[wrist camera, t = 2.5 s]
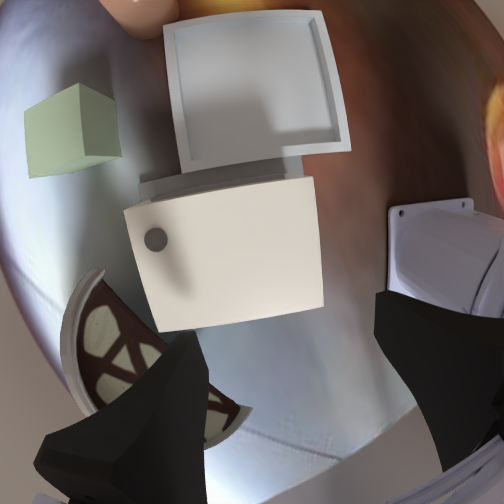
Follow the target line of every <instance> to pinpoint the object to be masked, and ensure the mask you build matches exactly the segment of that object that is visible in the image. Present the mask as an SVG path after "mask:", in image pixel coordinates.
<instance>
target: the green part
mask: <svg viewBox="0 0 504 504" xmlns="http://www.w3.org/2000/svg"><path fill="white" fill-rule="evenodd" d="M24 125H25V142H26V154H27V163H28V171H29V178H30V179H31V178H38V177H45V176H53V175H61V174H70V173H75V172H78V171H80V170H83V169H86V168H89V167H92V166H95V165H98V164H101V163H104V162H107V161H110V160H114V159H117V158H120V157H122V155H121V148H120V141H119V134H118V126H117V117H116V107H115V100H113V99H111V98H109V97H107V96H105V95H103V94H101V93H99V92H97V91H95V90H93V89H91V88H89V87H87V86H85V85H83V84H81V83H77V84H75V85H73V86H71V87H68V88H66V89H64V90H62V91H60V92H58V93H56V94H54V95H53V96H51V97H49V98H47V99H45V100H43V101H42V102H40V103H38V104H36V105H34V106H33V107H31V108H29V109H28V110H26V111H24Z"/></svg>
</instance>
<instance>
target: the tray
mask: <svg viewBox="0 0 504 504" xmlns="http://www.w3.org/2000/svg"><path fill="white" fill-rule="evenodd" d="M163 33H164V45H165V55H166V65H167V74H168V83H169V91H170V99H171V106H172V113H173V121H174V127H175V134H176V141H177V147H178V153H179V159H180V165H181V171H182V174H183V173H188V172H193V171H198V170H203V169H209V168H214V167H220V166H225V165H231V164H238V163H244V162H251V161H257V160H265V159H272V158H280V157H288V156H297V155H308V154H319V153H331V152H344V151H351V144H350V137H349V130H348V124H347V117H346V112H345V106H344V101H343V95H342V90H341V85H340V81H339V76H338V71H337V67H336V63H335V59H334V55H333V51H332V47H331V43H330V39H329V35H328V32H327V28H326V25H325V22H324V18H323V15H322V12H321V11H314V10H259V11H245V12H234V13H226V14H218V15H211V16H205V17H199V18H194V19H189V20H184V21H179V22H175V23H171V24H167V25H163Z"/></svg>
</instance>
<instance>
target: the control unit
mask: <svg viewBox="0 0 504 504" xmlns="http://www.w3.org/2000/svg"><path fill="white" fill-rule="evenodd" d="M138 188H139V193H140V198H141V203H139V204H137V205H134V206H132V207H130V208H128V209H125V210H123V211H124V216H125V220H126V225H127V229H128V233H129V237H130V241H131V245H132V249H133V252H134V256H135V260H136V263H137V267H138V270H139V274H140V277H141V280H142V284H143V287H144V290H145V293H146V296H147V300H148V303H149V306H150V309H151V312H152V315H153V317H154V320H155V323H156V326H157V329H158V331H159V332H169V331H178V330H186V329H194V328H202V327H209V326H216V325H223V324H230V323H236V322H243V321H249V320H255V319H261V318H266V317H272V316H278V315H283V314H288V313H293V312H299V311H304V310H309V309H313V308H318V307H323V306H324V305H323V284H322V267H321V253H320V240H319V229H318V218H317V208H316V199H315V190H314V182H313V177H311V176H304V173H303V166H302V159H301V155H297V156H288V157H280V158H272V159H265V160H257V161H251V162H244V163H238V164H231V165H225V166H220V167H214V168H209V169H203V170H198V171H193V172H188V173H183V174H178V175H174V176H169V177H165V178H160V179H156V180H152V181H148V182H144V183H140V184H138Z"/></svg>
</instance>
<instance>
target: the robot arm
mask: <svg viewBox="0 0 504 504" xmlns="http://www.w3.org/2000/svg"><path fill="white" fill-rule="evenodd" d="M400 210H401V211H402V213H401V215H400V216H399V211H400ZM388 231H389V253H388V284H387V290H386V291H383V292H379V293H376V302H375V323H374V336H375V338H376V340H377V342H378V344H379V346H380V348H381V349H382V351H383V353H384V355H385V356H386V357H387V359H388V360H389V362H390V363H391V364H392V366H393V367H394V368H395V370H396V371H397V373H398V374H399V375H400V377H401V378H402V380H403V381H404V382H405V384H406V385H407V387H408V388H409V389H410V391H411V393H412V394H413V396H414V398H415V400H416V402H417V404H418V406H419V407H420V409H421V411H422V414H423V416H424V418H425V420H426V423H427V425H428V427H429V429H430V432H431V434H432V437H433V440H434V443H435V446H436V449H437V452H438V455H439V459H440V462H441V466H442V471H443V473H442V474H441V475H439V476H437V477H436V478H434V479H432V480H430V481H428V482H426V483H424V484H422V485H420V486H418V487H416V488H414V489H412V490H410V491H408V492H406V493H404V494H402V495H400V496H397V497H395V498H393V499H390V500H388V501H386V502H383V503H381V504H429V503H431V502H433V501H435V500H436V499H438V498H440V497H441V496H443V495H445V494H446V493H448V492H450V491H451V490H453V489H454V488H456V487H457V486H459V485H461V484H462V483H464V482H465V481H466V480H468V479H469V478H470V477H472V476H473V477H472V478H471V479H470V480H469V481H467V482H466V483H465V484H464V485H462V486H461V487H459V488H458V489H457V490H456V491H455V492H454V493H453V494H452V495H451V496H450V497H449V498H448V499H447V500H446V501H444V502H443V503H442V504H504V220H503V219H500V218H497V217H493V216H490V215H487V214H484V213H481V212H477V211H474V210H473V200H472V199H471V198H459V199H450V200H441V201H432V202H424V203H416V204H408V205H400V206H393V207H391V208H390V209H389V211H388ZM208 398H209V370H208V367H207V364H206V362H205V359H204V356H203V353H202V350H201V347H200V344H199V341H198V338H197V335H196V332H195V331H190V332H182V333H179V334H178V335H177V337H176V338H175V339H174V340H173V341H172V342H171V344H170V345H169V346H168V347H167V348H166V350H165V351H164V352H163V353H162V354H161V356H160V357H159V358H158V359H157V360H156V361H155V362H154V364H153V365H152V366H151V367H150V368H149V369H148V370H147V371H146V372H145V373H144V374H143V375H142V376H141V377H140V378H139V379H138V380H137V381H136V382H135V383H134V384H133V385H132V386H131V387H130V388H128V389H127V390H126V391H125V392H124V393H122V394H121V395H120V396H119V397H117V398H116V399H115V400H113V401H112V402H110V403H109V404H108V405H106V406H105V407H103V408H102V409H100V410H99V411H97V412H96V413H94V414H92V415H90V416H89V417H87V418H85V419H83V420H81V421H79V422H77V423H75V424H73V425H71V426H69V427H66V428H64V429H61V430H59V431H56V432H54V433H51V434H48V435H46V436H45V438H44V440H43V443H42V445H41V447H40V449H39V451H38V453H37V456H36V458H35V460H34V462H33V464H34V467H35V469H36V471H37V472H38V473H39V474H40V475H41V476H42V477H43V478H44V479H45V480H46V481H48V482H49V483H50V484H51V485H53V486H54V487H55V488H57V489H58V490H59V491H60V492H62V493H63V494H64V495H66V496H67V497H69V498H70V500H69V503H68V504H208V503H207V494H206V484H205V469H204V434H205V425H206V416H207V407H208ZM32 504H66V503H64V502H62V501H60V500H58V499H55V498H53V497H50V496H48V495H46V494H43V493H41V492H39V491H37V492H36V493H35V496H34V499H33V501H32Z"/></svg>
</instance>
